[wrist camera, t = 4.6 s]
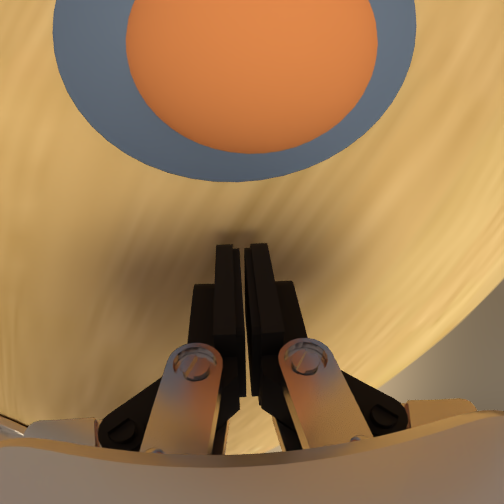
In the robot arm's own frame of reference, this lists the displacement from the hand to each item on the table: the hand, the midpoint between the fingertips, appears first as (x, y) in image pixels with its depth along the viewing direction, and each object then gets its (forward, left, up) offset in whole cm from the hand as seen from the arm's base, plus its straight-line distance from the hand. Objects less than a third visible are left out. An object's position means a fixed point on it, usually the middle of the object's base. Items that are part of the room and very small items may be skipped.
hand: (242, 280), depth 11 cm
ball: (+7, 0, +1) cm, 8 cm away
